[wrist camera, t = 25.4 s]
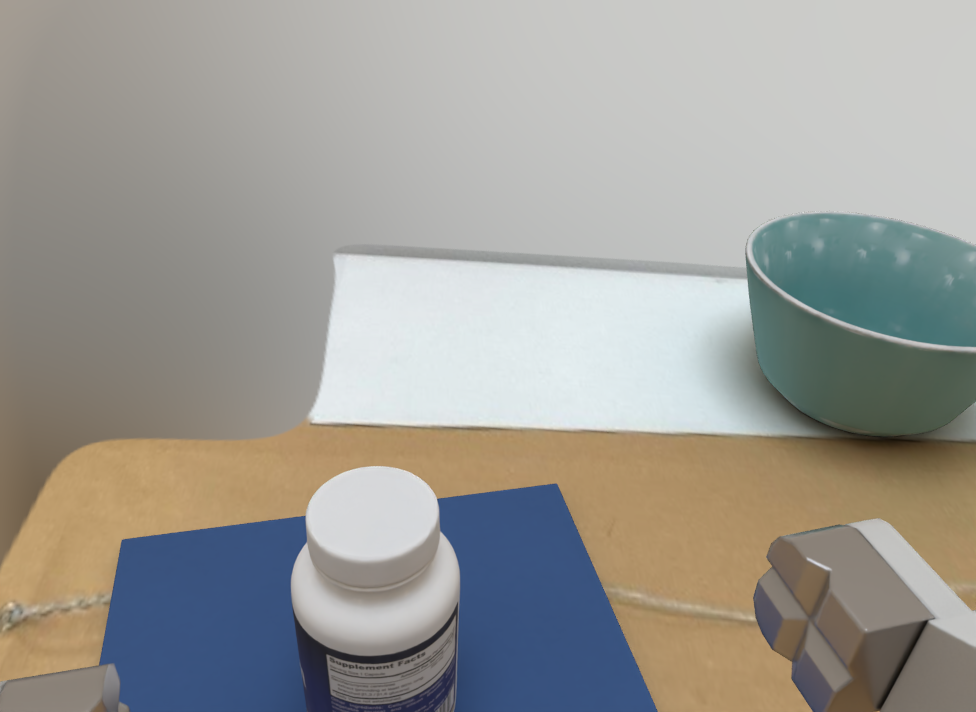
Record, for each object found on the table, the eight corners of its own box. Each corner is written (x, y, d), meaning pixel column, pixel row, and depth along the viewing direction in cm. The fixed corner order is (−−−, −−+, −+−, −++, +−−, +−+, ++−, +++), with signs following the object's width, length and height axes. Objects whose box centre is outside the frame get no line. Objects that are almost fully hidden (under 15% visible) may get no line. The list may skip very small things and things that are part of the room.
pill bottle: (317, 640, 32) (296, 448, 26) (455, 640, 32) (462, 449, 27) (295, 777, 27) (264, 578, 22) (456, 775, 28) (464, 578, 22)
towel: (17, 1149, 20) (11, 1143, 20) (123, 547, 36) (121, 539, 36) (755, 947, 24) (759, 940, 24) (556, 490, 40) (557, 482, 40)
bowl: (984, 359, 52) (1038, 242, 48) (1012, 517, 40) (1087, 380, 36) (737, 303, 57) (764, 191, 53) (694, 429, 45) (725, 299, 40)
